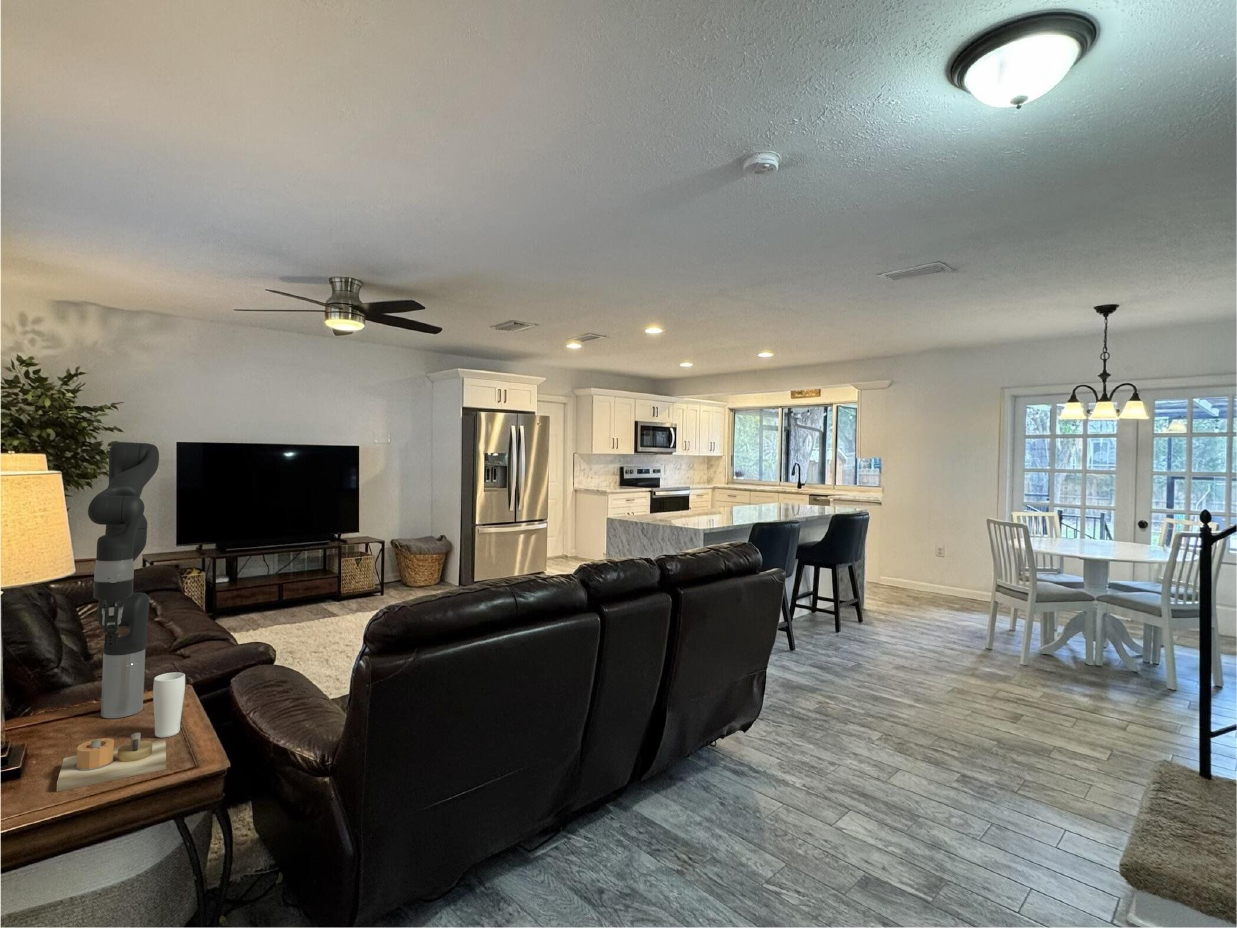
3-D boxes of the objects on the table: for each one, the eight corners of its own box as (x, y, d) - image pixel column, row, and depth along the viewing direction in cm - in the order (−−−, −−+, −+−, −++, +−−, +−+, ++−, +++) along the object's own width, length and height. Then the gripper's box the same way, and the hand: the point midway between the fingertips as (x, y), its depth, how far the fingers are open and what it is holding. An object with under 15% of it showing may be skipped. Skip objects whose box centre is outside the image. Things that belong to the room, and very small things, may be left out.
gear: (78, 759, 144) (79, 742, 144) (114, 753, 148) (114, 736, 148) (75, 771, 139) (75, 753, 139) (112, 764, 142) (113, 746, 142)
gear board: (63, 766, 145) (65, 736, 145) (165, 747, 156) (166, 719, 156) (56, 791, 134) (57, 759, 134) (165, 769, 146) (167, 739, 146)
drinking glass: (164, 727, 167) (166, 671, 167) (189, 729, 166) (191, 672, 166) (144, 738, 160) (146, 680, 160) (170, 740, 160) (172, 681, 160)
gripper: (96, 573, 156) (93, 638, 156) (91, 584, 145) (88, 654, 145) (134, 571, 161) (131, 634, 161) (132, 581, 149) (129, 649, 149)
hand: (111, 644), depth 153 cm, fingers open, 8 cm apart
